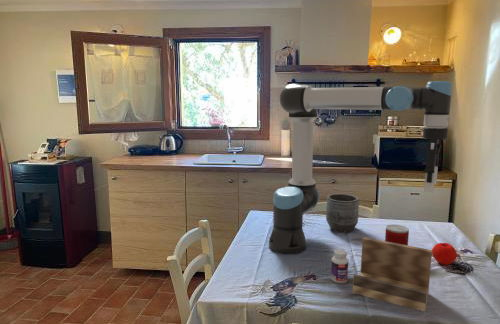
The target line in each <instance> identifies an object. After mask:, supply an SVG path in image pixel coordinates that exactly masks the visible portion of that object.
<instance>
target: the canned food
mask: <svg viewBox="0 0 500 324" xmlns="http://www.w3.org/2000/svg"><path fill="white" fill-rule="evenodd" d="M409 232H410V231H409V228H408V227H407V226H404V225H401V224H387V225H386V227H385V236H384V241H387V242H392V243H397V244H403V245H408V246H409V234H410V233H409Z"/></svg>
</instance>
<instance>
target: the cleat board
mask: <svg viewBox="0 0 500 324" xmlns="http://www.w3.org/2000/svg"><path fill="white" fill-rule="evenodd" d="M432 257H433V254H432V249H429V248H423V247H418V246H413V245H409V244H408V245H403V244H397V243H392V242H387V241H385V240H380V239H375V238H369V237H365V236H364V237H363V238H362V241H361V259H360V260H361V261H360V273H359V274H353V277H352V293H353V294H357V295H360V296H364V297H368V298H371V299H374V300H379V301H382V302H386V303H389V304H390V303H391V304H394V305H397V304H398V305H397V306H400V307H404V306H406V307H405V308H408V307H410V308H409V309H412V308H414V309H413V310H415V309H417V310H416V311H419V310H421V311H420V312H423V311H425V312H426V309H427V303H428V297H429V291H430V290H429V289H430V281H431V280H430V278H431V268H432V267H431V265H432Z"/></svg>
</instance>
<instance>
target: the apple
mask: <svg viewBox="0 0 500 324" xmlns="http://www.w3.org/2000/svg"><path fill="white" fill-rule="evenodd" d="M431 250H432V257H433V258H434V259H435V260H436V262H438V263H439V264H441V265H444V266H448V265H450V264H452V263H454V262H455V261H456V259H457V257H458V252H457V251H456V249H455V247H454V246H453V245H452V244H449V243H447V242H438V243H437V244H435V245H433V247H432V249H431Z"/></svg>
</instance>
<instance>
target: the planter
mask: <svg viewBox="0 0 500 324" xmlns="http://www.w3.org/2000/svg"><path fill="white" fill-rule="evenodd" d="M359 208H360V198H359V197H358V196H357V195H354V194H350V193H331V194H328V195H327V196H326V214H325V220H326V223H327V225H328V226H329V228H330V229H331V230H332V231H335V232H336V231H337V232H338V233H350V231H351V232H352V231H353V230H354V229H355V228H356V226H357V224H358V223H359V211H360V210H359Z"/></svg>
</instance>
